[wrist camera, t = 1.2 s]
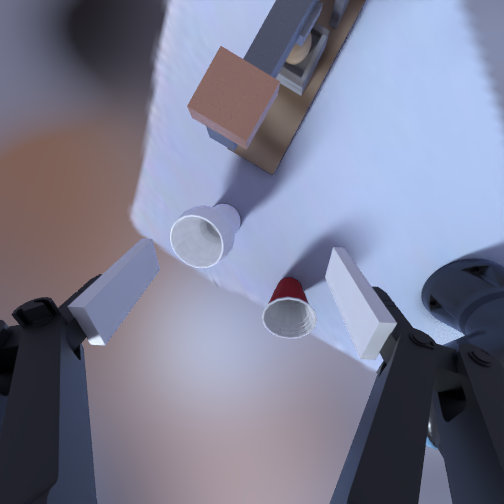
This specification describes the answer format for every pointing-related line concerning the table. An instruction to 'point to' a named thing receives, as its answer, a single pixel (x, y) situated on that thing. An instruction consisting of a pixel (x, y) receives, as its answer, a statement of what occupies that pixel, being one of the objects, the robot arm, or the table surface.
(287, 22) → the lever
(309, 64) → the press base
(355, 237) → the table surface
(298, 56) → the walnut
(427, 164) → the table surface
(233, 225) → the cup
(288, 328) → the plastic cup
